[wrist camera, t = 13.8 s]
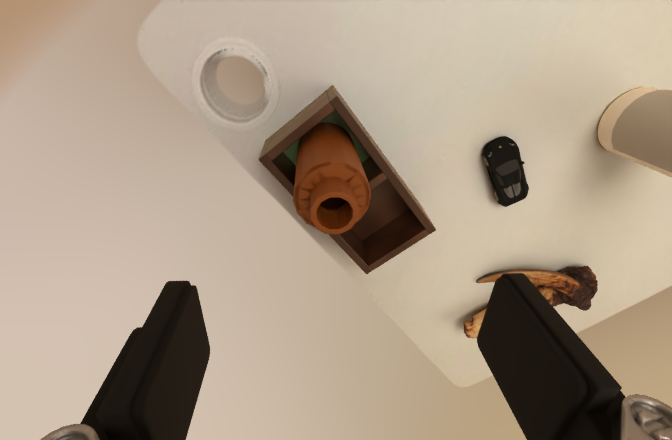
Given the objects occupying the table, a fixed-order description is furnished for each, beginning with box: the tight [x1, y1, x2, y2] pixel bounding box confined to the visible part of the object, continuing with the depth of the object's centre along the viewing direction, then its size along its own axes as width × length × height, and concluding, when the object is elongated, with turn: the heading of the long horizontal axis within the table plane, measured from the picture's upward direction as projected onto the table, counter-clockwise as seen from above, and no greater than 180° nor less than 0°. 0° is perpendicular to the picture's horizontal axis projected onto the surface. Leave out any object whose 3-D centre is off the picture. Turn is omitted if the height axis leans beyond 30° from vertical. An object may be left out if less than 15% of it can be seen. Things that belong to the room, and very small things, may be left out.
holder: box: [259, 85, 436, 274], centre depth 35 cm, size 9×16×6 cm, turn 37°
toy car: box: [482, 136, 529, 207], centre depth 37 cm, size 8×3×2 cm, turn 27°
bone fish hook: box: [464, 266, 598, 338], centre depth 45 cm, size 9×5×18 cm
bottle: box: [293, 122, 371, 234], centre depth 29 cm, size 6×6×14 cm
